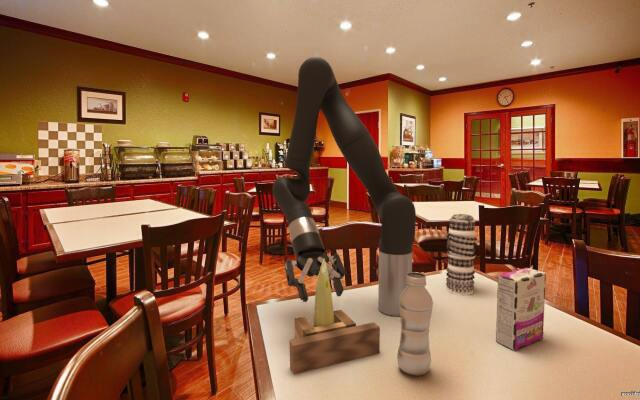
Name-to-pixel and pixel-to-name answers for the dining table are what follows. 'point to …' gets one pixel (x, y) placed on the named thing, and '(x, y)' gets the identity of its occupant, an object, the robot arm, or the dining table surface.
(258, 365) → the dining table surface
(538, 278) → the candy bar box
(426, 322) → the plastic bottle
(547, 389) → the dining table surface
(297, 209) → the robot arm
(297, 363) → the wooden plank
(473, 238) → the decorative candle
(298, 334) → the block
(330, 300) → the tube
